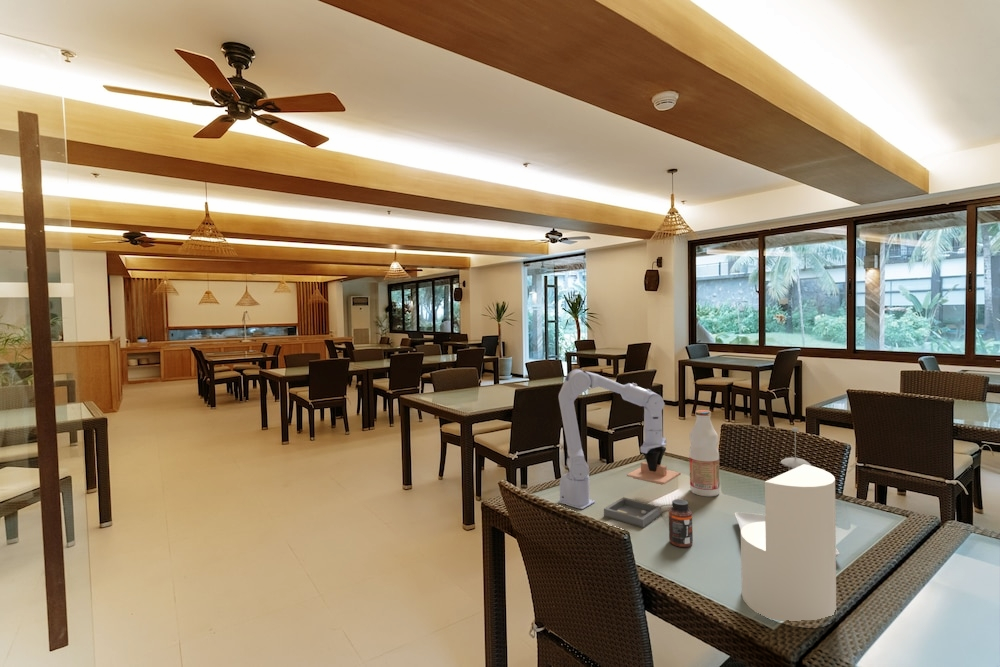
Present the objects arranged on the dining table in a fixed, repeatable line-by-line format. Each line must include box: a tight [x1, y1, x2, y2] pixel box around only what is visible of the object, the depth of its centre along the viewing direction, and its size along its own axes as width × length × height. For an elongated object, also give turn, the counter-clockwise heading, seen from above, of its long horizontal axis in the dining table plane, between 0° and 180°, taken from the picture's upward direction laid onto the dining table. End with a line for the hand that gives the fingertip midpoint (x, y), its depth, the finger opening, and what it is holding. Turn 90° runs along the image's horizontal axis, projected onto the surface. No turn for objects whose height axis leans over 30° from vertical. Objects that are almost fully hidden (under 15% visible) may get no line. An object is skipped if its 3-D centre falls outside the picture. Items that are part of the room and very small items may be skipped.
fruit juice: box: [688, 409, 721, 497], centre depth 167 cm, size 9×9×28 cm
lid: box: [626, 461, 682, 485], centre depth 160 cm, size 13×12×4 cm
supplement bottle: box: [668, 498, 694, 548], centre depth 131 cm, size 6×6×11 cm
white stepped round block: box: [740, 464, 837, 621], centre depth 103 cm, size 17×17×28 cm
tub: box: [603, 496, 662, 529], centre depth 150 cm, size 13×12×2 cm
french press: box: [780, 426, 812, 471], centre depth 153 cm, size 10×12×25 cm
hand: (654, 469), depth 160 cm, fingers closed on lid, 2 cm apart
